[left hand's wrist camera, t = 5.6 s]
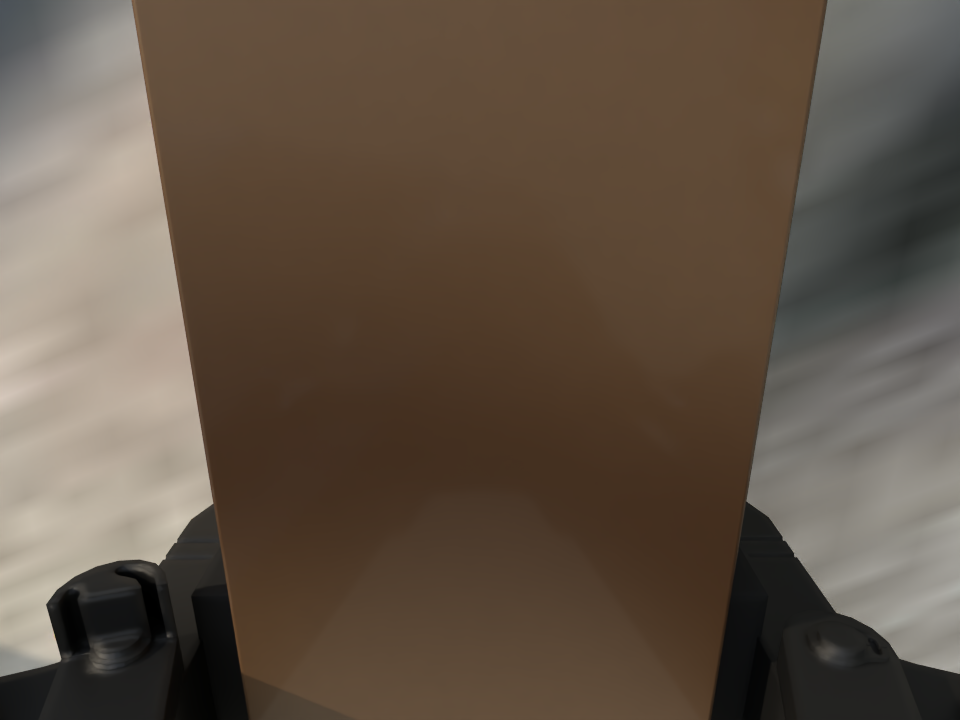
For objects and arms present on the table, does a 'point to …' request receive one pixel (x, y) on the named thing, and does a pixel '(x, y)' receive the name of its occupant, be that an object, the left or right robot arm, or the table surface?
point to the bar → (479, 335)
